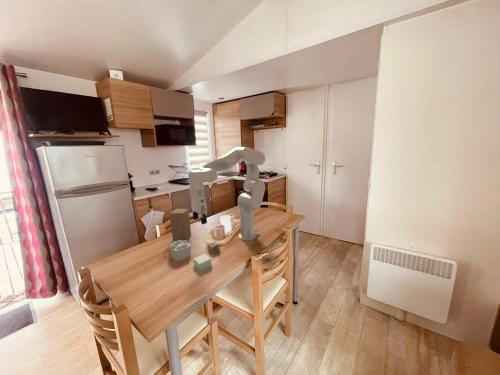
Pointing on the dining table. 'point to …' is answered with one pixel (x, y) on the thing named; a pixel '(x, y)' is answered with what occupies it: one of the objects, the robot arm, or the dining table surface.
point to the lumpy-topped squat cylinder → (180, 250)
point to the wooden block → (180, 224)
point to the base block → (202, 262)
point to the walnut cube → (213, 247)
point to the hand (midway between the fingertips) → (199, 221)
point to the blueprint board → (203, 269)
